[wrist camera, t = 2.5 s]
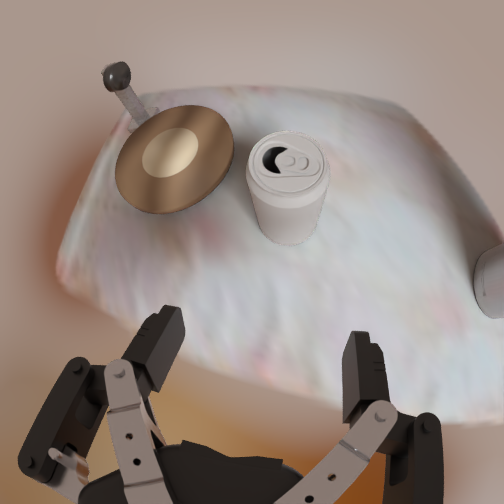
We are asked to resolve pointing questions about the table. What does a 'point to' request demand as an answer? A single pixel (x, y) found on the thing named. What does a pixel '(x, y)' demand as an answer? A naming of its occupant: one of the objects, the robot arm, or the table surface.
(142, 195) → the disc
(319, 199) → the beverage can
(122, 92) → the stand
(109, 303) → the table surface
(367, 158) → the table surface
